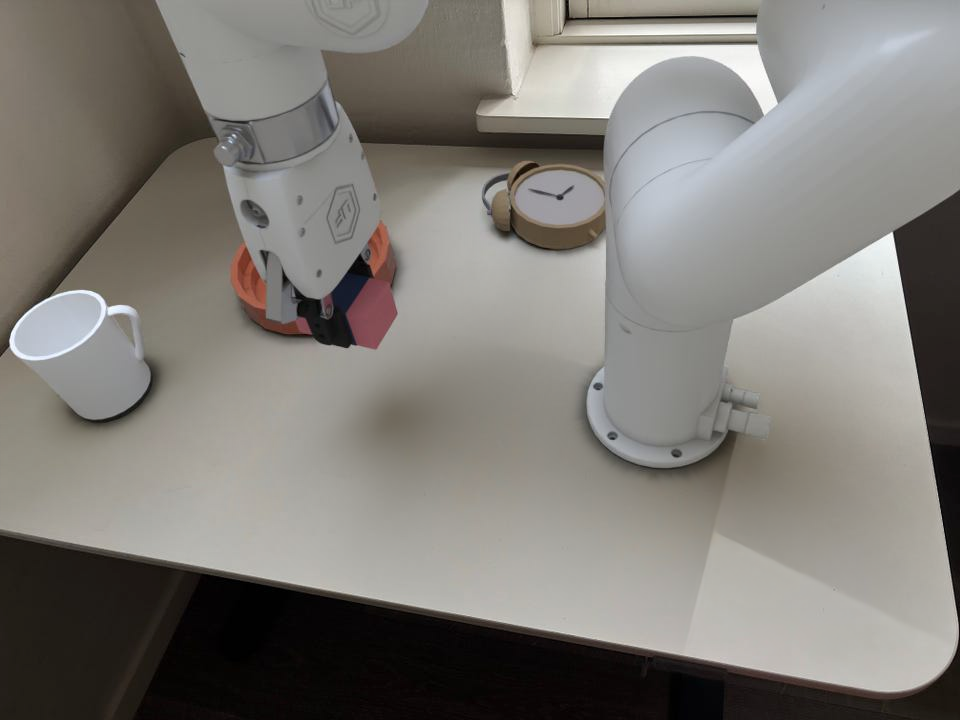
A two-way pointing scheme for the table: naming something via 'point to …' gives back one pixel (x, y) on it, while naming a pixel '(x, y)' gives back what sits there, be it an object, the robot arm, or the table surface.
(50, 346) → the mug
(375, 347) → the eraser
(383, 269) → the bowl
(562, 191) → the alarm clock
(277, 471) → the table surface
